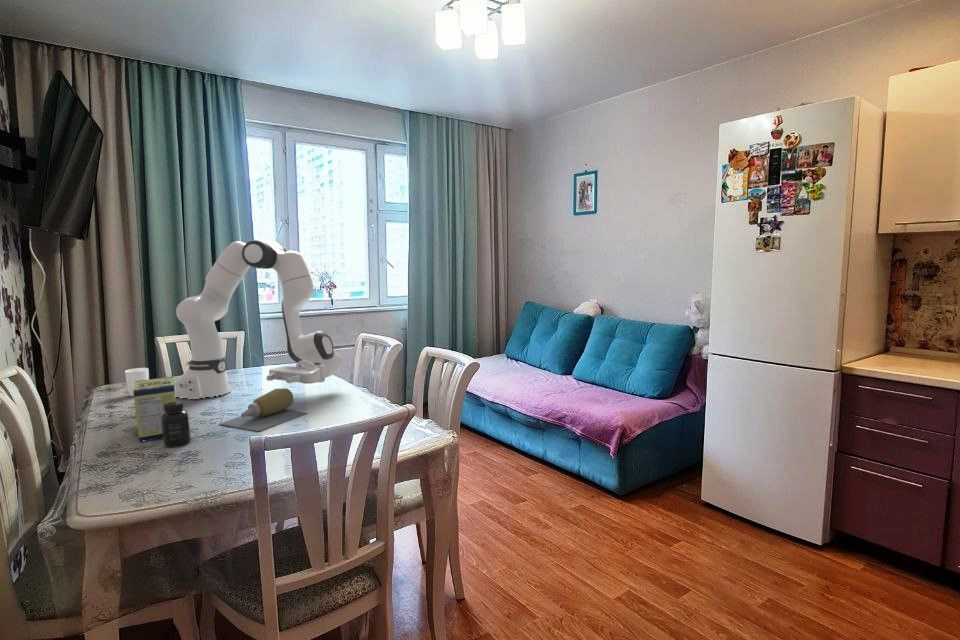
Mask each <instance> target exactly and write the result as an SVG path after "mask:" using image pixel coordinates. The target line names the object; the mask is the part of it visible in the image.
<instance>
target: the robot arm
mask: <svg viewBox="0 0 960 640" xmlns="http://www.w3.org/2000/svg"><path fill="white" fill-rule="evenodd" d="M250 268H254V269H262V270H270V269H272V270H274V271H275V272H276V273H277V275H278V278H279V281H280V283H281V284H280V285H281V288H282V296H283V297H282V301H281V311H282V318H283V324H284V329H285V334H286V343H287V344H286V350H287V354H288V356H289V358H291V360H292V361H294V362H296V364H295V366H289V365H288V366H287V365H285V366H283V365H282V366H277V367H273V368H270V369H269V370H268V375H266V381H270V382H271V381H274V380H277V381H284V382H286V383H287V384H293V383H300V384H303V385H304V384H309V385H310V384H315V383H324V382H326V378H329V377H331V376H334V375H335V374H337V373H338V372H339V371H340V370H341V368H342V366H343V361H342V357H341V356H340V354H338V353H337V352H336V351H335V349H334V343H333V341H332V338H331V336H330V335H329V334H328V333H327V332H325V331H323V330H318V331H314V332H311V333H308V334H306V335H304V334H303V331H302V325H301V319H300V312H301V309H302V308H303V306H304V305H305V304H306V303H307V302H308V301H309V300H310V299H311V298H312V295H313V294H314V282H313V279H312V277H311V273H310V271H309V268H308V265H307V264H306V262H305V260H304V257H303V255H302V254H301V253H300V252H298V251H295V250H294V251H293V250H287V249H286V247H285V246H284V245H283V244H282V243H280V242H278V241H275V240H270V239H259V238H258V239H256V238H255V239H252V240H249V241H247V242H246V243H245V242H244V241H238V240H236V241H235V240H234V241H233V242H231V243H230V244H229V245H227V247H226V248H225V249H224V250H223V251H221V254H220V255H219V256H218V258H217V259H216V260H215V262H214V264H213V265H212V267H211V268H210V270H209V271H208V273H207V275H206V276H205V283H204V287H203V289H202V291H201V293H200V294H198V295H194V296H189V297H186V298H185V299H184V300H181V301H180V302H179V303H178V305H177V306H176V310H175V311H176V312H175V314H176V317H177V320H179V321H180V323H182V325H184V328H185V330H186V332H187V336H188V338H189V343H190V352H191V353H190V354H191V360H190V361H186V366H188V370H186V371H185V372H184V373H183V374H181V376H180V377H178V378H177V379H176V381H175V384H174V388H175V396H176V397H183V398H191V399H198V400H200V399H199V398H203V399H206V398H205V397H210V398H215V397H214V396H216V397H220V396H219V395H221V396H223V394H225V395H227V394H230V393H231V392H232V389H231V386H230V384H229V380H228V377H227V372H226V368H227V367H226V366H227V365H226V364H227V363H226V357H225V356H224V355H225V354H224V348H223V347H224V346H223V345H224V344H223V337H222V335H220V334H219V332H218V330H217V327H216V324H215V322H216V321H219V320H220V319H222V318H223V317H224V316H225V315H227V313H228V311H229V304H230V301H231V299H232V297H233V294H234V292H235V291H236V289H237V288H238V286H239V285H240V283H241V282H242V280H243V278H244V277H245V276H246V274H247V272H248V271H249V269H250ZM229 392H230V393H229ZM226 393H227V394H226Z"/></svg>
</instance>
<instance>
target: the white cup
mask: <svg viewBox="0 0 960 640" xmlns="http://www.w3.org/2000/svg"><path fill="white" fill-rule="evenodd" d="M124 375H125V382H126V387H127V390H128V395H129V394H134V393H133V391H134V386H135V381H141V380H150V371H149V368H148V367H135V368H130V369H126V370H125V371H124Z"/></svg>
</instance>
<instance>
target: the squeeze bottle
mask: <svg viewBox="0 0 960 640" xmlns="http://www.w3.org/2000/svg"><path fill="white" fill-rule="evenodd" d="M294 398H295V397H294V395H293V393H292V391H291V390H290V389H289V388H274V389H272V390H271V391H268V392H267V393H265V394H262V395H261V396H259V397H257V398H256V399H253V402H252V403H250V404H248V406H247V409H246V410H244V411H243V412H242V413H241V414H240V415H241V416H242V417H245V416H252V417H253V418H255V417H258V416H259V417H265V416H269V415H272V414H275V413H278V412H282V411H284V410H286V409H288V408H289V407H291V405H292V404H293V403H294V400H295V399H294Z"/></svg>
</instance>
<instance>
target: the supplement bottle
mask: <svg viewBox="0 0 960 640" xmlns="http://www.w3.org/2000/svg"><path fill="white" fill-rule="evenodd" d="M184 409H185V408H184V402H183V401H180V400H179V401H176V402H170V403H167V404H165V405H164V412H165V413H164V414H163V415H162V417H161V423H162V432H163V438H162V441H163V446H164V447H166V446H167V447H166V448H176V447H175V446H179V447H182V446H181V445H183V446H185V445H184V444H186V445H188V444H189V443H190V442H191V440H192V436H191V427H190V418H189V412H187V410H184ZM187 443H188V444H187Z"/></svg>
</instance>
